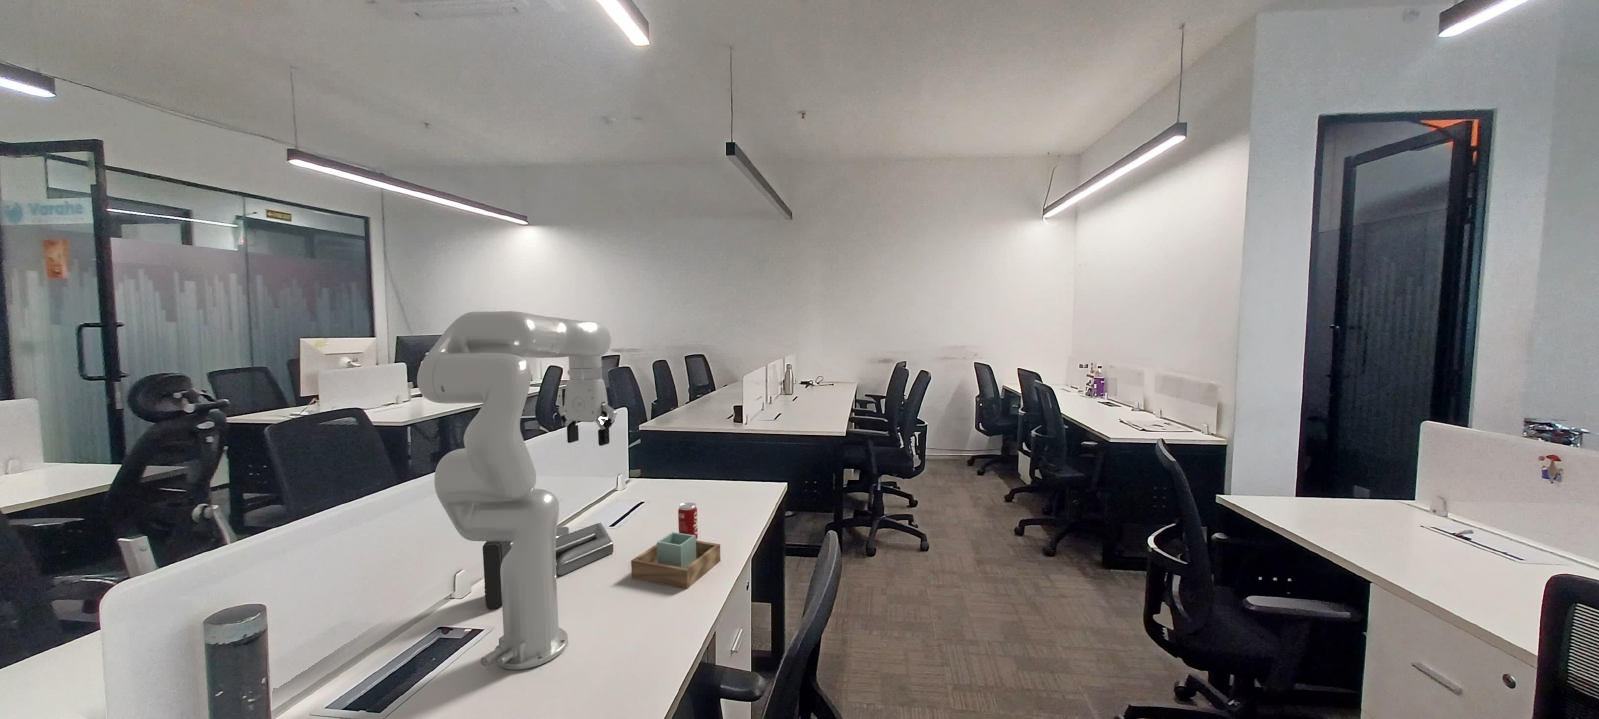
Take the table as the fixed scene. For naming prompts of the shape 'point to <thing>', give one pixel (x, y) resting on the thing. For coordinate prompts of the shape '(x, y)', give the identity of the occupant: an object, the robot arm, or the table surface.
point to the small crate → (677, 550)
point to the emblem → (580, 547)
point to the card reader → (494, 571)
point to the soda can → (688, 519)
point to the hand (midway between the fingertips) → (588, 443)
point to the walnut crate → (673, 575)
